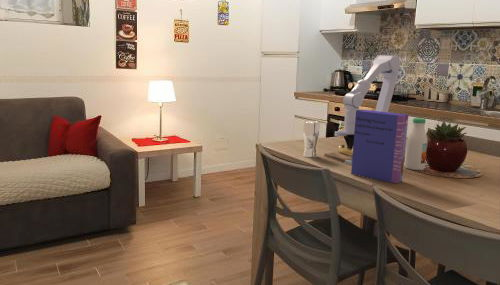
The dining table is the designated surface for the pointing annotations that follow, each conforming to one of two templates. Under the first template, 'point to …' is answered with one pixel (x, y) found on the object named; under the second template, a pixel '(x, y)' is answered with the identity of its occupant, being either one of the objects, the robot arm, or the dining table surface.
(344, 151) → the swing bar
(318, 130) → the beer glass
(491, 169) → the dining table surface
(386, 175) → the purple book
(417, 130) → the milk bottle
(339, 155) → the door and jamb
